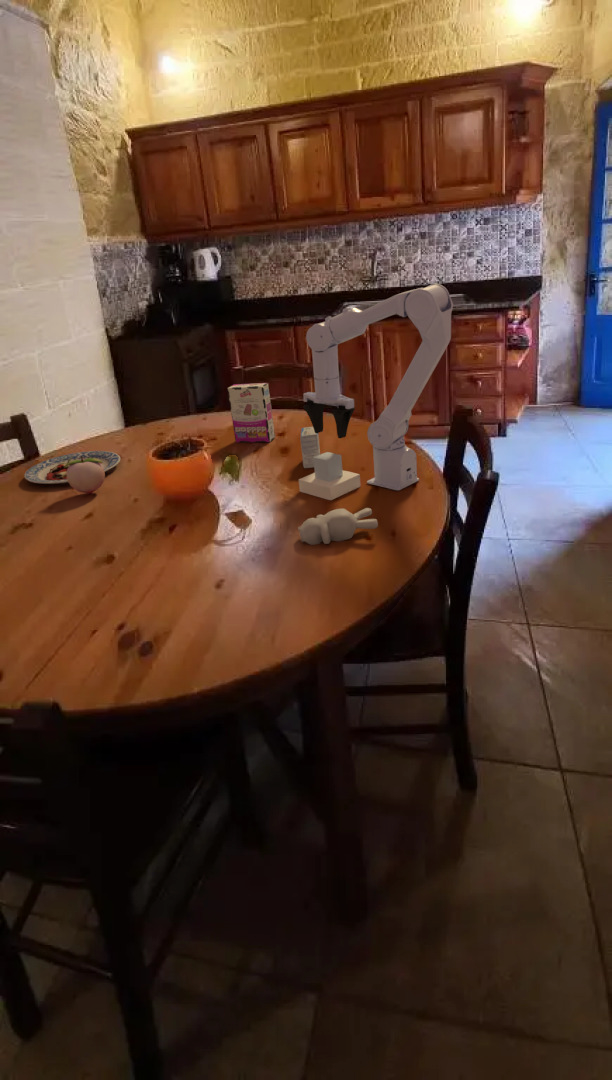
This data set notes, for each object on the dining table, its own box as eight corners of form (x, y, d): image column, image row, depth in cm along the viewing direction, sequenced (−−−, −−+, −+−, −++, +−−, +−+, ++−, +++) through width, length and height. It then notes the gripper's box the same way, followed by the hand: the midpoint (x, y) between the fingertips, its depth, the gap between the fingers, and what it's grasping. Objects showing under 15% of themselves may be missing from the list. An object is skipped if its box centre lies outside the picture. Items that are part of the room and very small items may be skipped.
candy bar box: (275, 437, 195) (269, 382, 188) (270, 442, 191) (263, 386, 184) (241, 437, 199) (233, 383, 192) (234, 442, 194) (226, 387, 187)
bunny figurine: (294, 514, 131) (367, 496, 132) (300, 536, 134) (372, 519, 134) (299, 533, 123) (377, 514, 123) (305, 557, 125) (381, 538, 125)
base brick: (360, 486, 153) (359, 474, 151) (330, 500, 147) (329, 487, 145) (329, 478, 159) (328, 466, 158) (299, 491, 153) (298, 479, 152)
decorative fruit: (73, 503, 161) (62, 464, 156) (70, 493, 168) (60, 455, 163) (111, 495, 164) (102, 456, 159) (107, 485, 171) (99, 448, 166)
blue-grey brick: (342, 475, 152) (341, 455, 149) (329, 481, 149) (327, 460, 147) (328, 472, 155) (327, 451, 152) (315, 478, 152) (313, 457, 150)
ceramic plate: (127, 476, 176) (125, 466, 175) (26, 497, 169) (23, 486, 167) (115, 452, 198) (113, 442, 197) (26, 469, 191) (23, 460, 189)
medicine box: (320, 467, 167) (317, 434, 164) (303, 469, 168) (300, 436, 164) (320, 457, 175) (317, 425, 171) (303, 459, 175) (300, 427, 171)
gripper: (292, 377, 153) (297, 434, 159) (337, 384, 143) (341, 444, 149) (313, 371, 157) (317, 426, 163) (359, 377, 147) (361, 435, 153)
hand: (330, 434), depth 156 cm, fingers open, 7 cm apart
